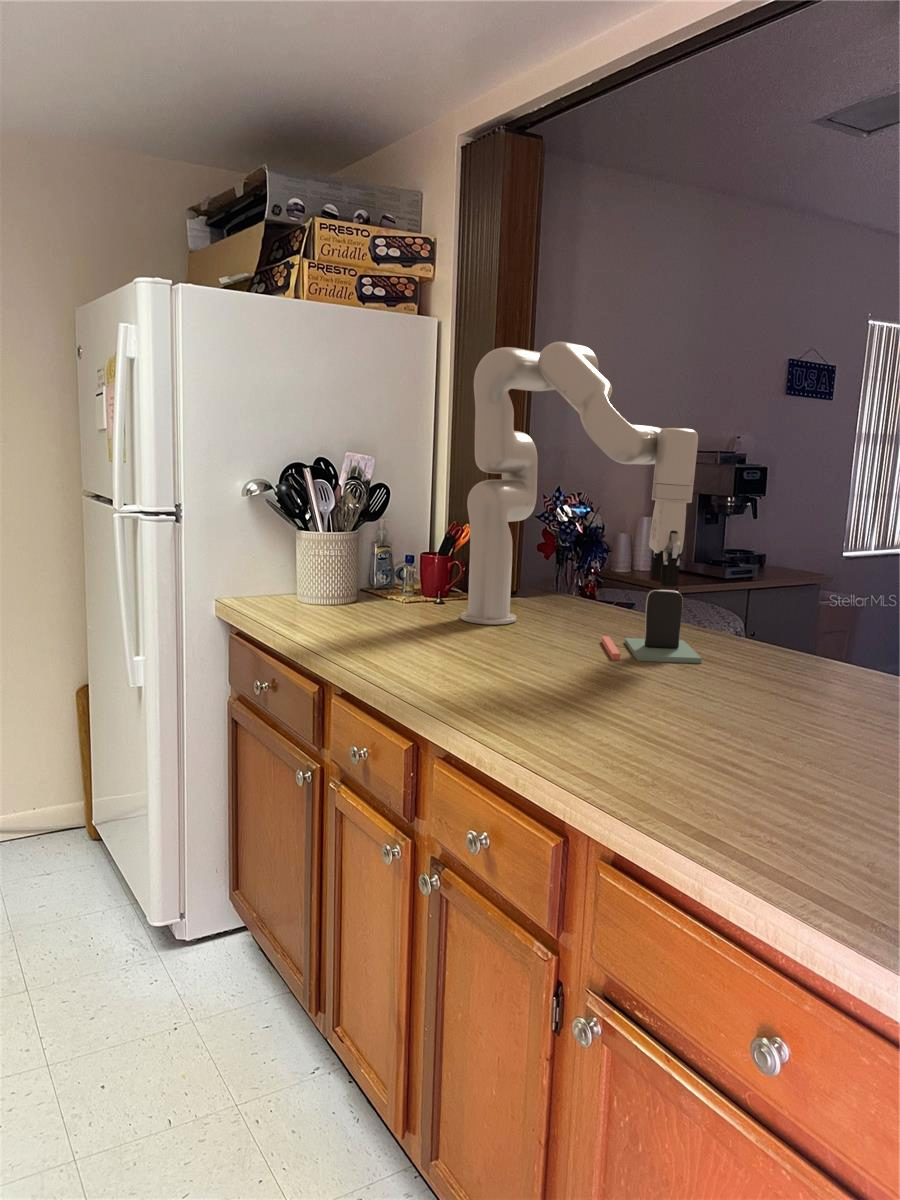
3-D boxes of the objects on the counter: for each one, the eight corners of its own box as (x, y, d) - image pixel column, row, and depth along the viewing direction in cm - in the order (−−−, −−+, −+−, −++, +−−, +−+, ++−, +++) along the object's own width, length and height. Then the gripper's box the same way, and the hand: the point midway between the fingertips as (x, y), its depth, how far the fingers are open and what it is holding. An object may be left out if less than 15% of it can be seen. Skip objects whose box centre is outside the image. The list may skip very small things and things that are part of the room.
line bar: (601, 641, 189) (601, 636, 189) (608, 642, 189) (609, 636, 189) (612, 659, 173) (612, 653, 173) (620, 660, 173) (620, 653, 173)
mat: (624, 642, 189) (624, 637, 189) (683, 645, 189) (683, 640, 188) (637, 660, 173) (637, 655, 173) (701, 663, 173) (701, 658, 173)
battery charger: (676, 645, 183) (681, 588, 181) (680, 649, 179) (684, 592, 178) (641, 643, 184) (645, 587, 182) (644, 647, 180) (648, 590, 178)
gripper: (644, 489, 184) (637, 573, 187) (661, 495, 167) (652, 588, 170) (682, 491, 184) (673, 575, 187) (702, 498, 167) (692, 590, 170)
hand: (663, 581), depth 179 cm, fingers open, 9 cm apart
